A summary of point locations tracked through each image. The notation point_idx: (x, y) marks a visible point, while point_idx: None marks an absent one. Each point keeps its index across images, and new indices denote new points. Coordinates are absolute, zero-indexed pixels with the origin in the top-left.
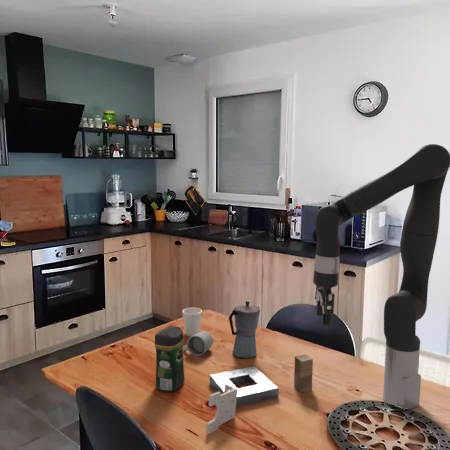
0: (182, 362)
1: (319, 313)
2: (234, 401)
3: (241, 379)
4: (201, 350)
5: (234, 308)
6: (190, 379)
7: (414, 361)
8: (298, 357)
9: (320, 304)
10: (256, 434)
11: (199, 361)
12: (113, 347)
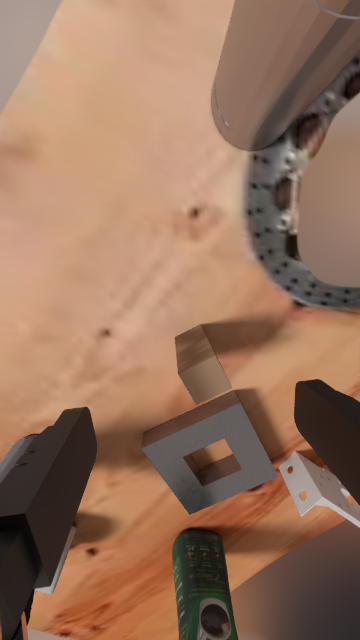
0: (202, 585)
1: (88, 444)
2: (314, 478)
3: (188, 460)
4: None
5: None
6: (174, 521)
7: None
8: (203, 395)
9: (38, 551)
10: None
11: (99, 521)
12: (71, 632)
